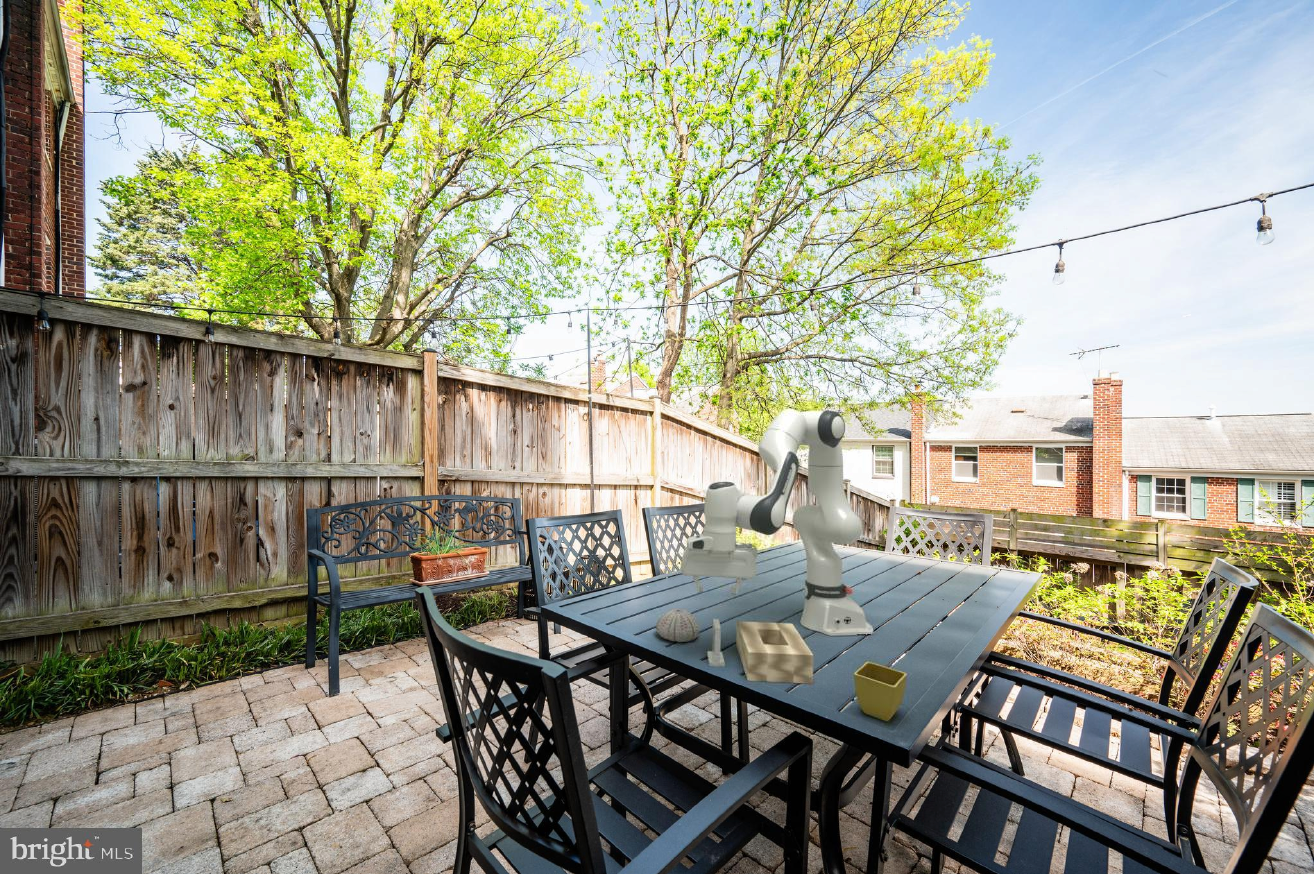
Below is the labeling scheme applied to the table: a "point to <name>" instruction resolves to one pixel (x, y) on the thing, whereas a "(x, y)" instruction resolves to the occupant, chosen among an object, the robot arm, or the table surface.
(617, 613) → the table surface
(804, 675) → the well block
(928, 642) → the table surface
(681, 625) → the sea urchin shell
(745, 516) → the robot arm
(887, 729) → the table surface
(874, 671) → the flower pot
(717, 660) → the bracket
